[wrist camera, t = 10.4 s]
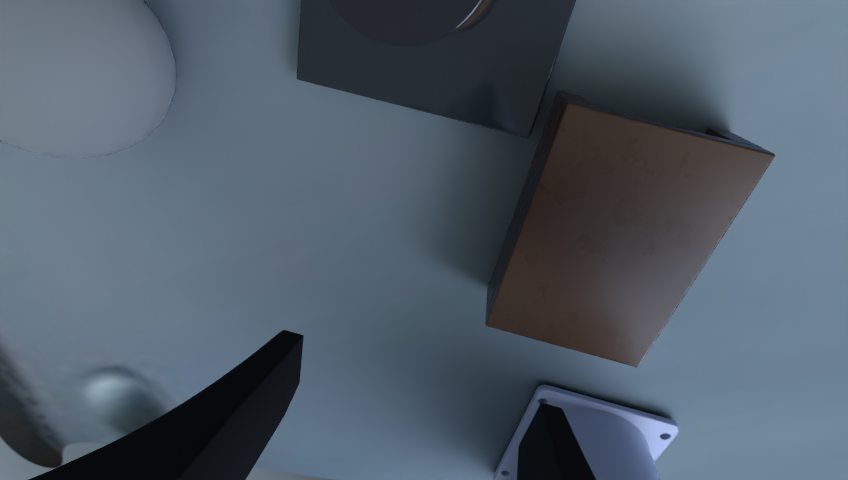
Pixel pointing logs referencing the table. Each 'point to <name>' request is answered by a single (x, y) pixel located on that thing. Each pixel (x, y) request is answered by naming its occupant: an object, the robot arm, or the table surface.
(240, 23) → the table surface
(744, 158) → the shelf
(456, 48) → the slate pad
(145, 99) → the white ovoid
